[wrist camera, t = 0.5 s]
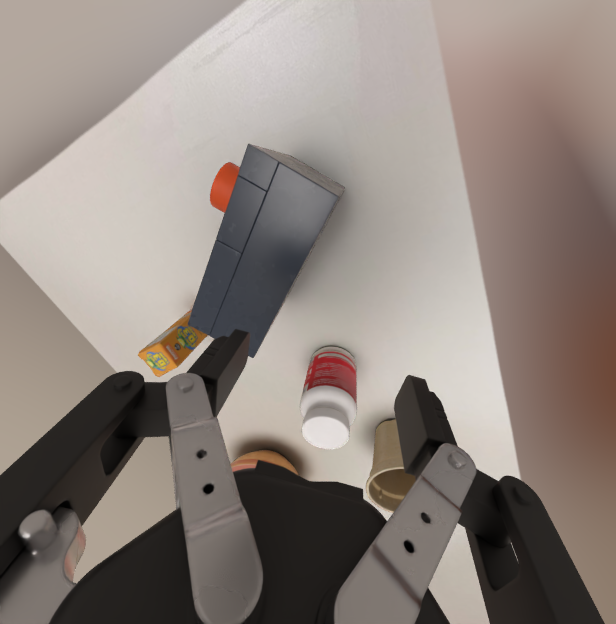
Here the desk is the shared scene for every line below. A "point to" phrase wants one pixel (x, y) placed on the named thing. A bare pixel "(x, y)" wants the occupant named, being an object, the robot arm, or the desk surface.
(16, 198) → the desk surface
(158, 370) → the supplement box
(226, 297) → the control box
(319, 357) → the pill bottle
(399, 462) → the flower pot
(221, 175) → the knob
